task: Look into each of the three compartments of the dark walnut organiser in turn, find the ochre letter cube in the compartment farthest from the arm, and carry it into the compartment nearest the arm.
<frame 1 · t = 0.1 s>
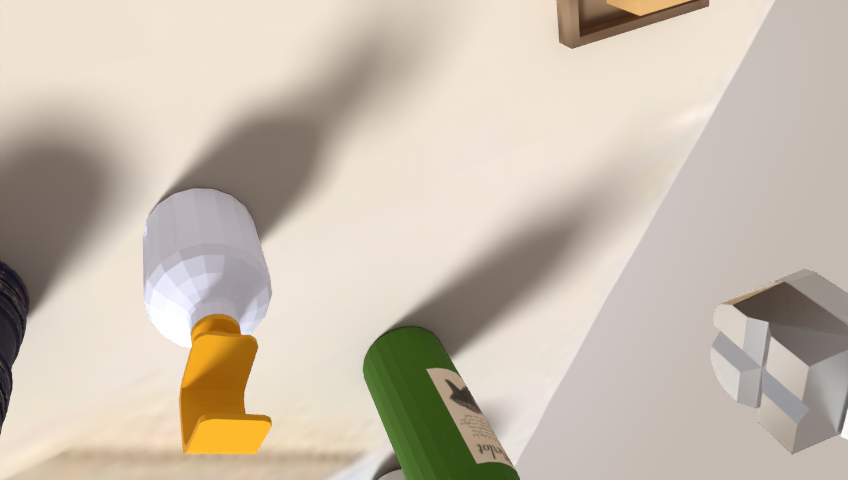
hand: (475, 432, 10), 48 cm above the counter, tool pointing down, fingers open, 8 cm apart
soap bottle: (200, 232, 59), on the counter
wine bottle: (401, 357, 74), on the counter
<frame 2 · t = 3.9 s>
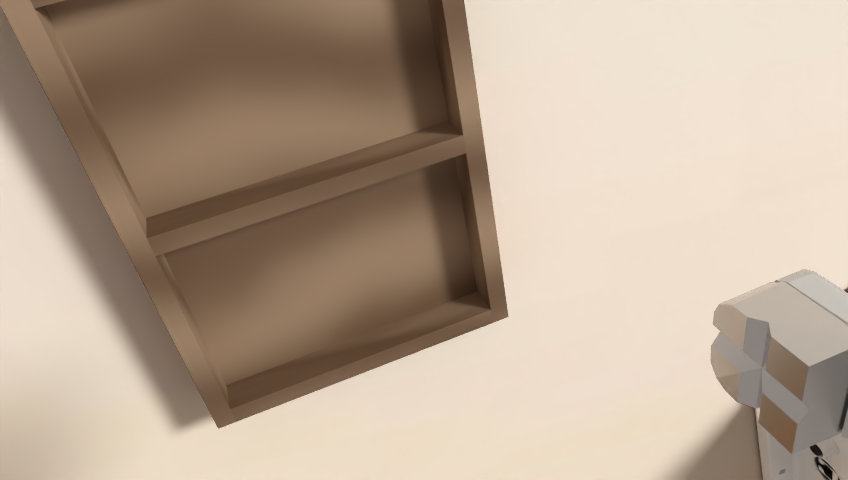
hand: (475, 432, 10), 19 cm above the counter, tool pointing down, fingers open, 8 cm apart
organiser: (270, 63, 25), on the counter
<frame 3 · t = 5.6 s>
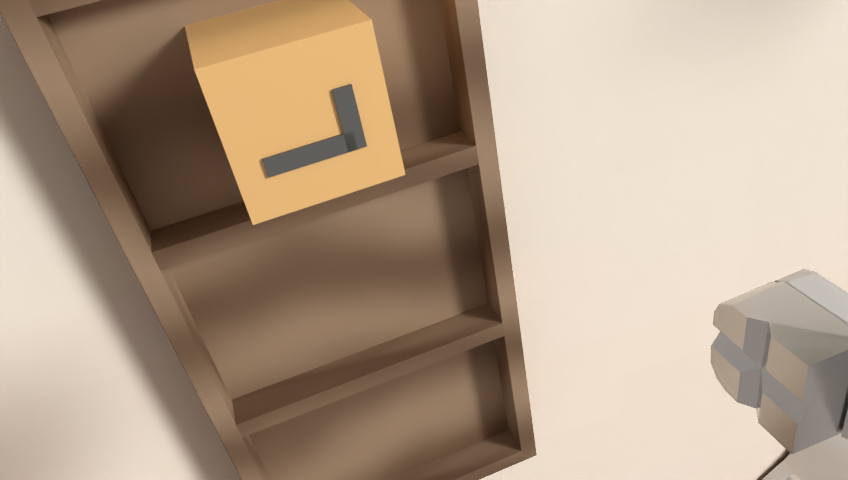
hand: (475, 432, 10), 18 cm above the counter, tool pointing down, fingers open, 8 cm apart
organiser: (339, 271, 30), on the counter
letter cube: (281, 77, 24), point 1 cm above the counter, touching organiser
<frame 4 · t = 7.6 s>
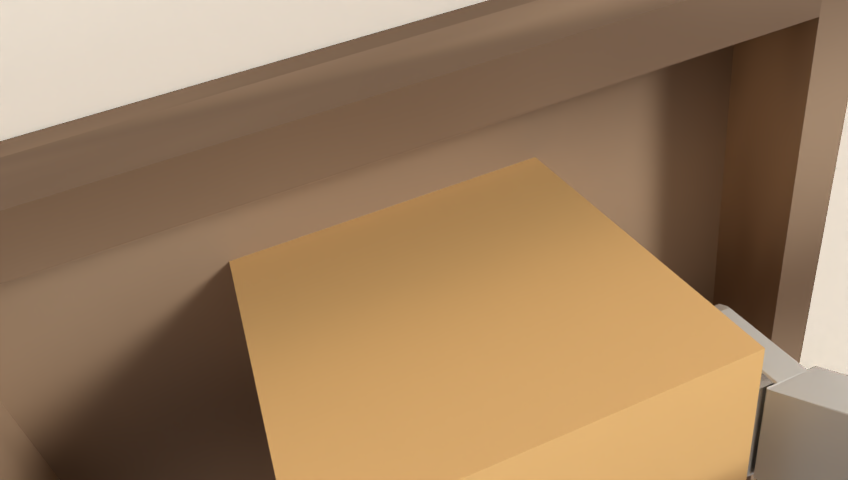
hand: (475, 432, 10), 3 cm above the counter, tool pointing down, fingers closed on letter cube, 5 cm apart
letter cube: (418, 327, 12), point 1 cm above the counter, touching gripper, organiser
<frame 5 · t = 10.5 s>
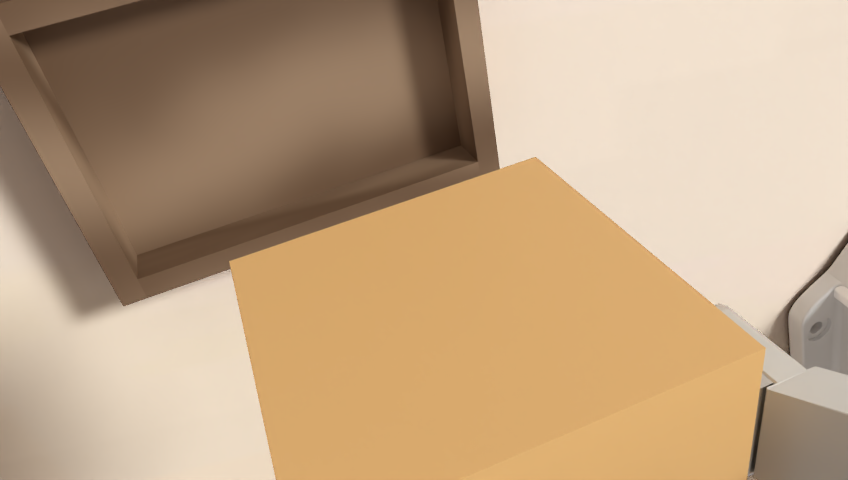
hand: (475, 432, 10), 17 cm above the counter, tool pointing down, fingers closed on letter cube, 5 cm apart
letter cube: (418, 327, 12), point 14 cm above the counter, touching gripper
when the fingers open (4 cm above the counter, at t = 13.4 s): letter cube drops 1 cm, resting on organiser.
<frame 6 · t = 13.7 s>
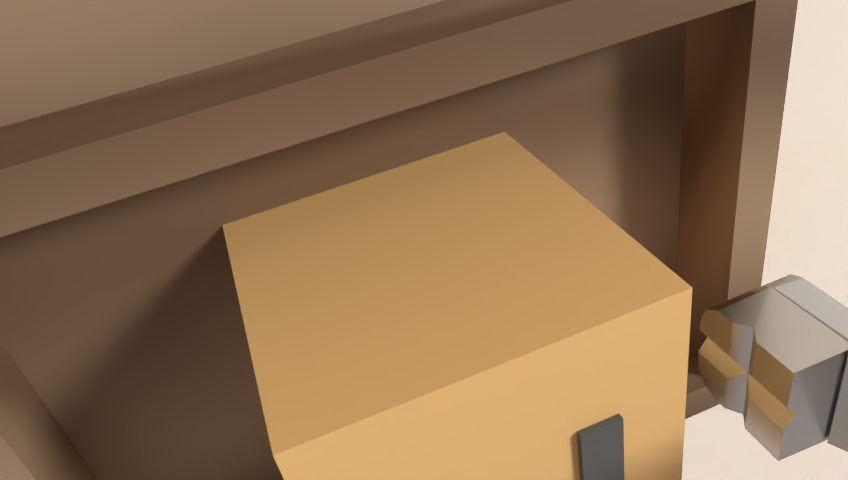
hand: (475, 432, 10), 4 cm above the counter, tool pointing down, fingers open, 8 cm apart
letter cube: (398, 291, 13), point 1 cm above the counter, touching organiser
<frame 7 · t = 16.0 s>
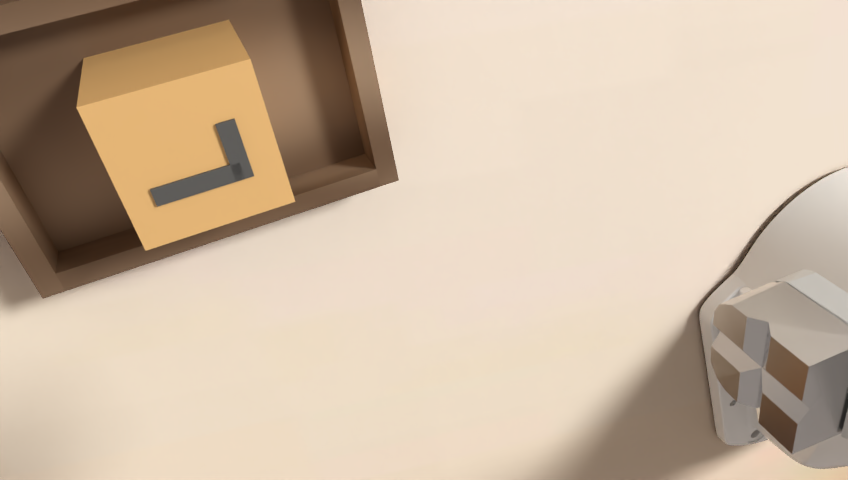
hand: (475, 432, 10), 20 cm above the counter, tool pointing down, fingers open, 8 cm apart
letter cube: (183, 105, 25), point 1 cm above the counter, touching organiser
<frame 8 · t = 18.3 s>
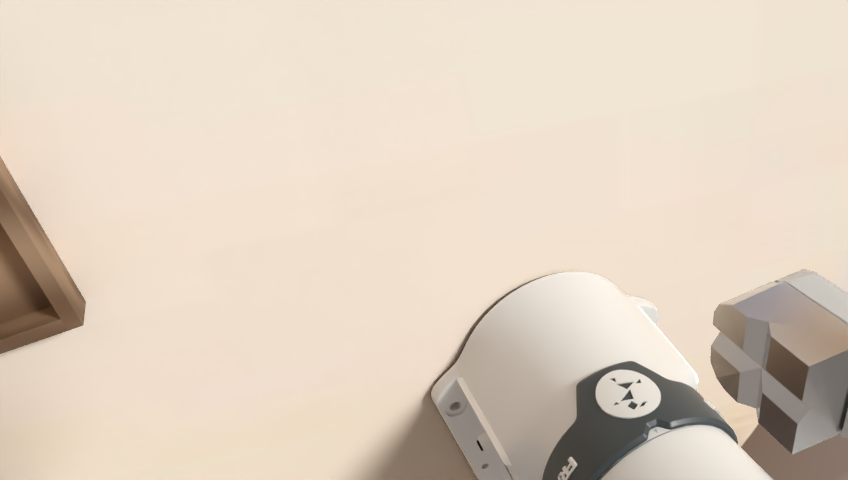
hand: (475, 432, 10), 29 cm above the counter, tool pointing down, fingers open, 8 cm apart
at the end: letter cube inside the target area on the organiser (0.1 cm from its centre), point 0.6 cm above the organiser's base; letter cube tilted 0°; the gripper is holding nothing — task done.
